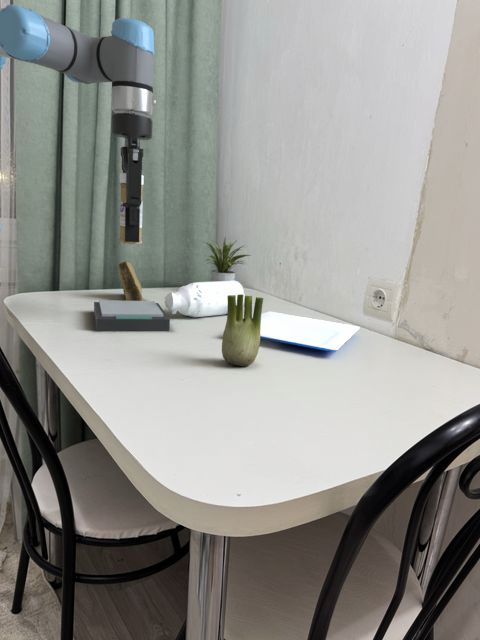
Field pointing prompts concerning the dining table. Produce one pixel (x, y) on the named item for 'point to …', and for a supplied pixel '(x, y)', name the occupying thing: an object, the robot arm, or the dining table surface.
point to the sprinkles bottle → (122, 210)
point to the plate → (305, 331)
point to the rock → (130, 282)
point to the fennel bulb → (242, 330)
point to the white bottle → (203, 298)
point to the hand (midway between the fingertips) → (130, 240)
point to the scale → (130, 316)
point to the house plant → (224, 262)
